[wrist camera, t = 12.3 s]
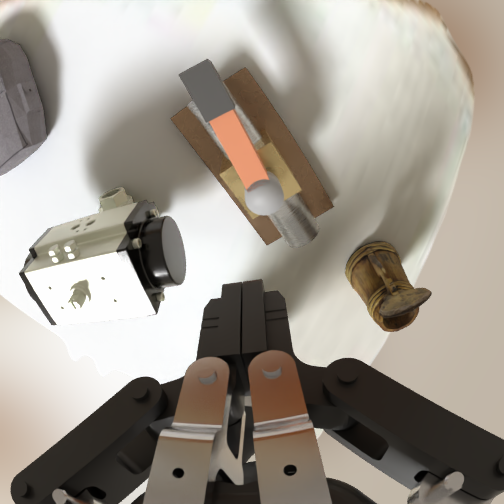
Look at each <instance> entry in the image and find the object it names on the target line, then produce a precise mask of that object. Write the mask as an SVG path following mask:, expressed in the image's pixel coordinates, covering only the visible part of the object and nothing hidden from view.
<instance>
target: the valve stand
mask: <svg viewBox="0 0 504 504" xmlns="http://www.w3.org/2000/svg"><path fill="white" fill-rule="evenodd" d="M222 82H223V83H224V85H225V87H226V89H227V91H228V92H229V94H230V96H231V98H232V100H233V102H234V104H235V105H236V106H235V111H236V113H237V115H238V116H239V118H240V120H241V122H242V124H243V126H244V128H245V130H246V132H247V133H248V135H249V137H250V139H251V141H252V143H253V145H254V147H255V149H256V151H257V153H258V155H259V157H260V159H261V161H262V163H263V165H264V166H265V168H266V170H267V171H269V172H271V173H273V174H274V175H275V176H276V177H277V178H278V179H279V182H280V184H281V187H282V190H283V193H284V201H283V204H282V206H281V207H280V208H279V210H277V211H276V212H275V213H273V214H270V215H258V214H255V213H253V212H252V211H251V210H250V209H249V208H248V207H247V205H246V202H245V189H244V187H245V186H244V184H243V182H242V181H241V179H240V177H239V175H238V173H237V171H236V170H235V168H234V166H233V164H232V162H231V161H230V159H229V157H228V155H227V153H226V151H225V150H224V148H223V146H222V144H221V142H220V141H219V139H218V137H217V135H216V133H215V132H214V130H213V128H212V126H211V125H210V123H209V122H207V123H206V122H205V120H204V118H203V117H202V115H201V113H200V111H199V110H198V108H197V106H196V104H195V103H194V101H191V102H190V103H189V104H188V105H187V107H185V108H184V109H183V110H181V111H180V112H178V113H177V114H176V115H175V116H173V117H172V118H171V120H172V121H173V123H174V124H175V125H176V127H177V128H178V129H179V130H180V132H181V133H182V134H183V136H184V137H185V138H186V139H187V141H188V142H189V143H190V145H191V146H192V147H193V148H194V150H195V151H196V152H197V154H198V155H199V156H200V158H201V159H202V160H203V161H204V163H205V164H206V165H207V167H208V168H209V169H210V171H211V172H212V173H213V175H214V176H215V177H216V179H217V180H218V181H219V182H220V184H221V185H222V186H223V188H224V189H225V190H226V192H227V193H228V194H229V196H230V197H231V198H232V200H233V201H234V202H235V204H236V205H237V206H238V208H239V209H240V210H241V211H242V213H243V214H244V215H245V217H246V218H247V219H248V221H249V222H250V223H251V225H252V226H253V227H254V229H255V230H256V231H257V233H258V234H259V235H260V237H261V238H262V239H263V241H264V242H265V244H266V245H269V244H270V243H272V242H274V241H276V240H277V239H279V238H281V237H283V238H284V239H285V241H286V242H287V244H288V245H289V246H290V247H293V248H297V247H301V246H304V245H306V244H308V243H309V242H311V241H312V240H313V239H314V238H315V237H316V236H317V234H318V232H319V225H318V223H317V222H316V220H315V218H316V217H317V216H319V215H321V214H323V213H324V212H326V211H328V210H329V209H331V208H333V207H334V206H333V204H332V202H331V201H330V199H329V197H328V195H327V193H326V192H325V190H324V188H323V186H322V185H321V183H320V181H319V179H318V178H317V176H316V174H315V173H314V171H313V169H312V168H311V166H310V164H309V163H308V161H307V159H306V158H305V156H304V154H303V153H302V151H301V149H300V148H299V146H298V144H297V143H296V141H295V140H294V138H293V137H292V135H291V133H290V132H289V130H288V129H287V127H286V126H285V124H284V122H283V121H282V119H281V118H280V116H279V115H278V113H277V112H276V110H275V109H274V107H273V106H272V104H271V103H270V101H269V100H268V98H267V97H266V96H265V94H264V93H263V91H262V90H261V88H260V87H259V85H258V84H257V83H256V81H255V80H254V78H253V77H252V76H251V74H250V73H249V71H248V70H247V69H246V67H245V68H243V69H242V70H240V71H238V72H237V73H235V74H234V75H232V76H231V77H229V78H227V79H226V80H224V81H222Z"/></svg>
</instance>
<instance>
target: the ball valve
mask: <svg viewBox="0 0 504 504" xmlns="http://www.w3.org/2000/svg"><path fill="white" fill-rule="evenodd" d="M99 201H100V204H101V206H102V207H101V208H100V209H99V213H97V214H94V215H90V216H87V217H83V218H80V219H77V220H74V221H70V222H67V223H64V224H61V225H58V226H55V227H51V228H48V229H47V231H46V232H45V233H44V234H43V235H42V236H41V237H40V238H39V239H38V240H37V241H36V242H35V243H34V244H33V245H32V246H31V248H30V249H29V251H30V254H29V255H28V257H27V258H26V261H25V264H24V268H23V269H22V270H21V271H20V273H19V275H20V276H21V278H22V280H23V282H24V283H25V286H26V288H27V291H28V293H29V294H30V296H31V297H32V298H33V299H34V300H35V301H36V303H37V304H38V306H39V307H40V309H41V310H42V312H43V313H44V315H45V316H46V318H47V319H48V320H49V322H50V323H51V325H60V324H72V323H83V322H93V321H103V320H113V319H122V318H131V317H139V316H147V315H156V314H157V312H158V309H159V305H160V302H161V301H164V299H165V296H164V293H163V292H164V288H165V287H171V286H178V285H181V284H182V283H183V281H184V279H185V274H186V258H185V251H184V245H183V241H182V237H181V234H180V231H179V229H178V227H177V225H176V223H175V221H174V220H173V219H172V218H171V217H170V216H163V217H160V215H159V212H158V209H157V208H156V206H155V204H154V202H151V203H148V202H147V200H145V201H141V202H137V203H134V202H133V199H132V196H130V195H126V192H125V190H124V188H123V187H119V188H115V189H112V190H110V191H108V192H106V193H104V194H103V195H101V196H100V197H99Z"/></svg>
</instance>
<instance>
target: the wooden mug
mask: <svg viewBox="0 0 504 504" xmlns="http://www.w3.org/2000/svg"><path fill="white" fill-rule="evenodd" d="M345 274H346V276H347V278H348V280H349V282H350V284H351V286H352V288H353V289H354V290H355V291H356V292H357V293H358V294H359V296H360V297H361V298H362V300H363V301H364V303H365V304H366V306H367V310H368V312H369V314H370V316H371V317H372V318H373V320H374V321H375V322H376V323H377V324H378V325H379V326H380V327H381V328H382V329H383V330H384V331H387V332H394V331H399V330H401V329H403V328H405V327H407V326H409V325H410V324H411V323H412V322H413V321H414V320H415V318H416V317H417V315H418V312H419V306H420V305H422V304H423V303H424V302H425V301H427V300H428V299H429V297H430V296H431V291H429V290H428V289H426V288H416V289H414V288H413V286H412V285H411V284H410V283H409V281H408V278H407V276H406V274H405V272H404V269H403V267H402V265H401V260H400V257H399V255H398V253H397V252H396V250H395V248H394V247H393V246H392V245H391V244H389V243H386V242H374V243H371V244H368V245H365V246H363V247H361V248H360V249H359V250H357V251H356V252H355V253H354V254H353V255H352V256H351V257H350V259H349V261H348V263H347V264H346V271H345Z"/></svg>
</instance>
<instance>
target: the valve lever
mask: <svg viewBox="0 0 504 504" xmlns="http://www.w3.org/2000/svg"><path fill="white" fill-rule="evenodd" d="M179 76H180V78H181V80H182V82H183V83H184V85H185V87H186V89H187V90H188V92H189V94H190V96H191V97H192V99H193V101H194V103H195V104H196V106H197V108H198V110H199V111H200V113H201V115H202V117H203V118H204V120H205V122H206V123H207V122H209V123H210V125H211V126H212V128H213V130H214V132H215V133H216V135H217V137H218V139H219V141H220V142H221V144H222V146H223V148H224V150H225V151H226V153H227V155H228V157H229V159H230V161H231V162H232V164H233V166H234V168H235V170H236V171H237V173H238V175H239V177H240V179H241V181H242V182H243V184H244V186H245V187H244V189H245V202H246V205H247V207H248V208H249V209H250V210H251V211H252V212H253V213H255V214H258V215H270V214H273V213H275V212H276V211H277V210H279V208H280V207H281V206H282V204H283V201H284V193H283V190H282V187H281V184H280V182H279V179H278V178H277V177H276V176H275V175H274V174H273V173H271V172H269V171H267V170H266V168H265V166H264V165H263V163H262V161H261V159H260V157H259V155H258V153H257V151H256V149H255V147H254V145H253V143H252V141H251V139H250V137H249V135H248V133H247V132H246V130H245V128H244V126H243V124H242V122H241V120H240V118H239V116H238V115H237V113H236V111H235V106H236V105H235V104H234V102H233V100H232V98H231V96H230V94H229V92H228V91H227V89H226V87H225V85H224V83H223V82H222V80H221V78H220V76H219V74H218V73H217V71H216V69H215V67H214V66H213V64H212V62H211V61H210V60H208V59H207V60H205V61H203V62H201V63H199V64H197V65H195V66H193V67H191V68H189V69H188V70H186V71H184V72H182V73H180V74H179Z"/></svg>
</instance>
